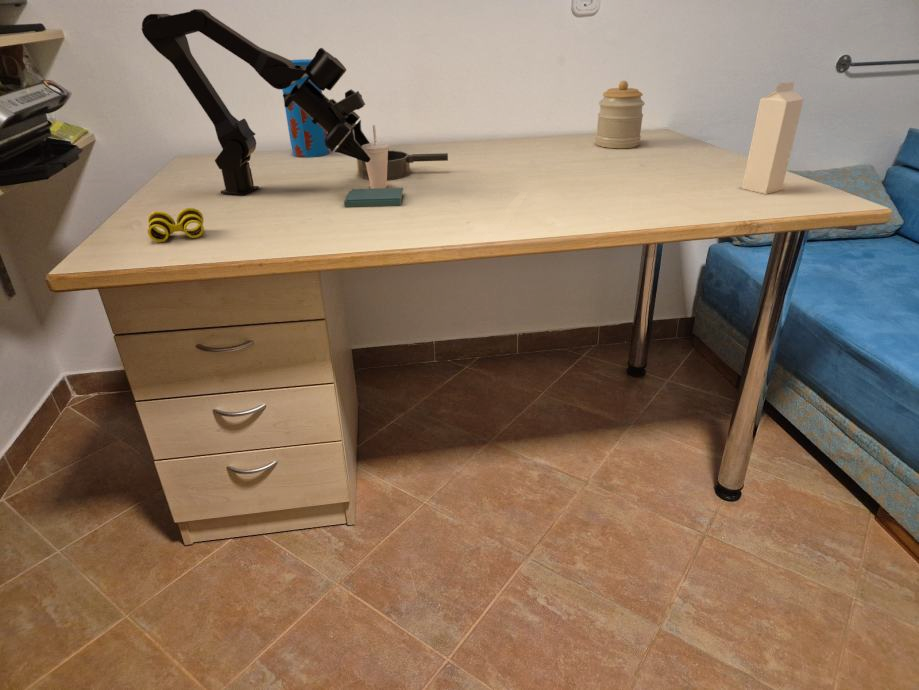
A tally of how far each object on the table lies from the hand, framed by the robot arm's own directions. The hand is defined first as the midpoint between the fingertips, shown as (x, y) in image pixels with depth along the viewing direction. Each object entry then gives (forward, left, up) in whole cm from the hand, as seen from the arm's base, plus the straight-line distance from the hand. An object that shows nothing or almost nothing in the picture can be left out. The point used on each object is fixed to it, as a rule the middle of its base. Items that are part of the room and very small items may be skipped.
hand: (371, 156), depth 139 cm
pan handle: (+17, -7, -4) cm, 19 cm away
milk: (+20, -86, -7) cm, 89 cm away
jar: (+63, -50, -7) cm, 81 cm away
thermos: (+31, +36, -7) cm, 48 cm away
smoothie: (0, -1, -7) cm, 8 cm away
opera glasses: (-42, +21, -7) cm, 47 cm away
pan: (+13, +4, -7) cm, 15 cm away
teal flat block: (-10, -5, -7) cm, 13 cm away
